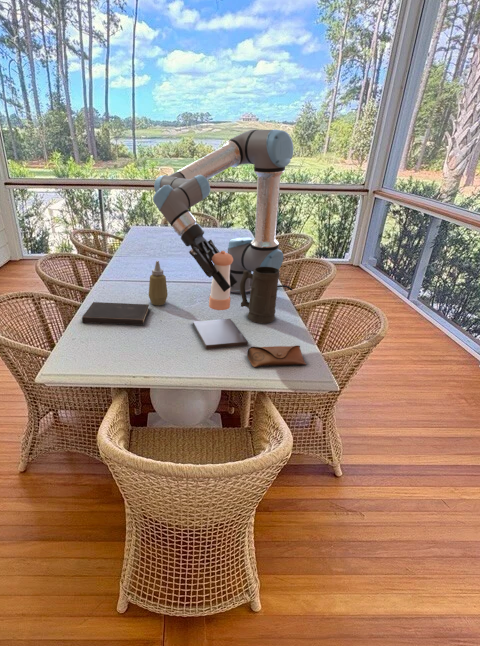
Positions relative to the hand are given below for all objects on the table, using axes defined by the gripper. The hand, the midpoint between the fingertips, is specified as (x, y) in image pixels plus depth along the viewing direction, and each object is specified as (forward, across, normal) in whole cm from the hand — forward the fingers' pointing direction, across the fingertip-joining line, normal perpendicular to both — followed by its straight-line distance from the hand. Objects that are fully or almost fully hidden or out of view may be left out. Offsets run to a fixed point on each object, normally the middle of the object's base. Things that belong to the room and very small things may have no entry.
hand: (230, 286), depth 132 cm
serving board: (+11, 0, -16) cm, 19 cm away
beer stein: (+16, -22, -11) cm, 30 cm away
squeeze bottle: (-13, -15, -40) cm, 45 cm away
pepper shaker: (+3, 0, -8) cm, 9 cm away
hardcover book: (-18, +5, -45) cm, 49 cm away
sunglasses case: (+28, +8, +1) cm, 29 cm away
